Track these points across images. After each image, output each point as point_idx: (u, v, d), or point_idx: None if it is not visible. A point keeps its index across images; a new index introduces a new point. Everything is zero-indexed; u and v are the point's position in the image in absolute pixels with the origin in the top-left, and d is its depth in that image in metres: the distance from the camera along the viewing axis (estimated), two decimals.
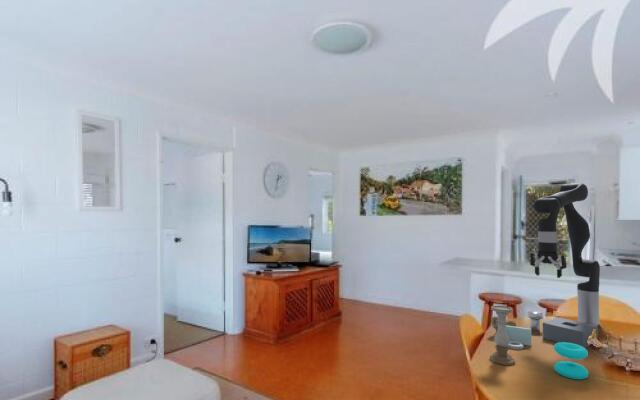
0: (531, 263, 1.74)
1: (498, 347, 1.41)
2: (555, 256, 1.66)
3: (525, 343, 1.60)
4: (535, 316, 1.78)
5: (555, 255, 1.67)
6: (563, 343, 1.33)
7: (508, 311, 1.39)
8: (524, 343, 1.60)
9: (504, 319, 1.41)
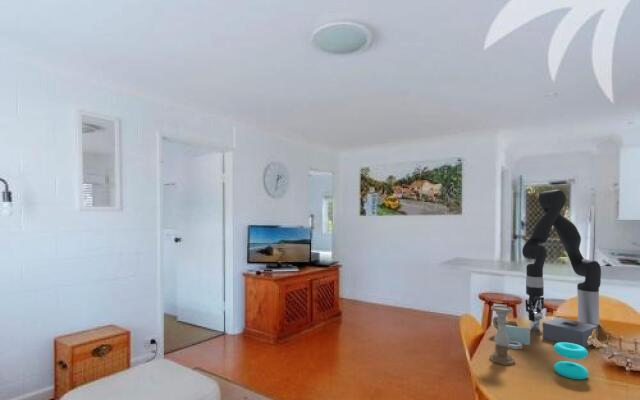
0: (531, 310, 1.77)
1: (498, 347, 1.41)
2: (540, 298, 1.83)
3: (524, 342, 1.60)
4: (535, 316, 1.78)
5: (540, 297, 1.83)
6: (563, 343, 1.33)
7: (508, 311, 1.39)
8: (523, 342, 1.60)
9: (504, 319, 1.41)
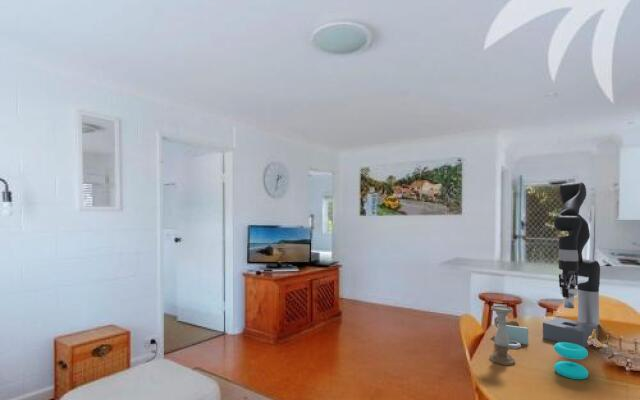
0: (566, 285, 1.64)
1: (498, 347, 1.41)
2: (574, 273, 1.69)
3: (522, 342, 1.61)
4: (569, 292, 1.65)
5: (574, 272, 1.69)
6: (563, 343, 1.33)
7: (508, 311, 1.39)
8: (521, 342, 1.61)
9: (504, 319, 1.41)
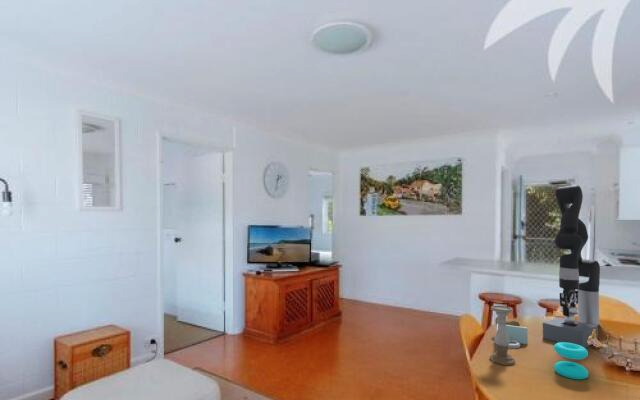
0: (566, 304, 1.63)
1: (498, 347, 1.41)
2: (575, 292, 1.69)
3: (521, 342, 1.61)
4: (570, 310, 1.64)
5: (575, 291, 1.69)
6: (563, 343, 1.33)
7: (508, 311, 1.39)
8: (520, 342, 1.61)
9: (504, 319, 1.41)
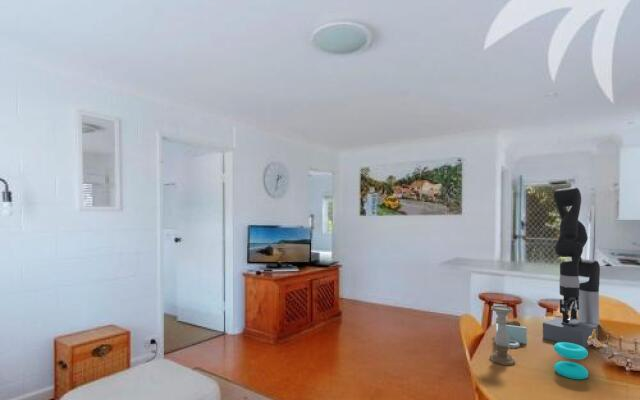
0: (566, 311, 1.62)
1: (498, 347, 1.41)
2: (575, 299, 1.68)
3: (520, 341, 1.62)
4: (571, 322, 1.64)
5: (575, 298, 1.68)
6: (563, 343, 1.33)
7: (508, 311, 1.39)
8: (519, 341, 1.62)
9: (504, 319, 1.41)
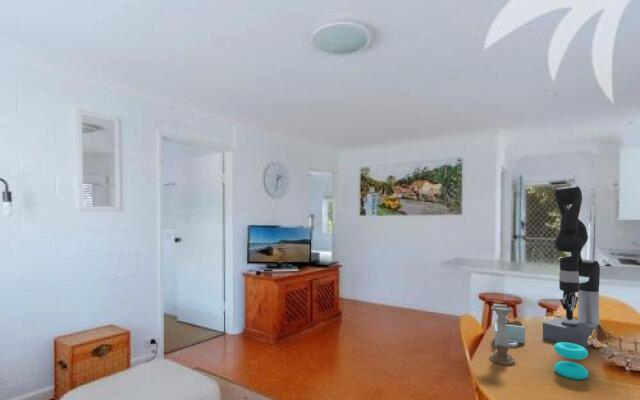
0: (570, 308, 1.65)
1: (498, 347, 1.41)
2: None
3: (519, 341, 1.62)
4: (571, 322, 1.64)
5: (575, 294, 1.69)
6: (563, 343, 1.33)
7: (508, 311, 1.39)
8: (518, 341, 1.62)
9: (504, 319, 1.41)
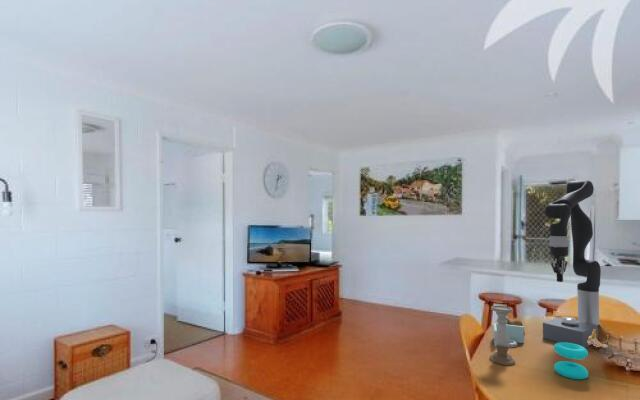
0: (560, 271, 1.74)
1: (498, 347, 1.41)
2: (564, 259, 1.77)
3: (518, 340, 1.63)
4: (571, 322, 1.64)
5: (564, 258, 1.78)
6: (563, 343, 1.33)
7: (508, 311, 1.39)
8: (517, 340, 1.63)
9: (504, 319, 1.41)
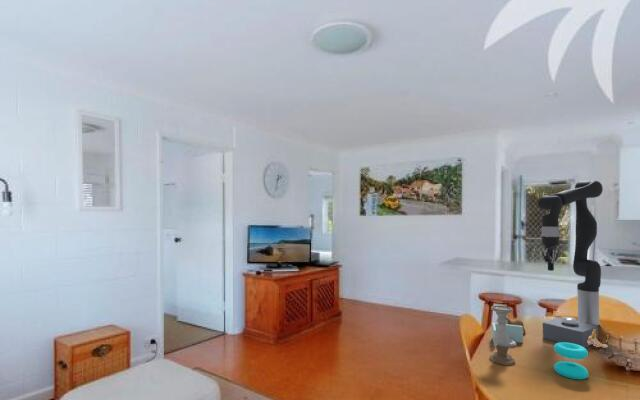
0: (550, 260, 1.81)
1: (498, 347, 1.41)
2: (555, 249, 1.85)
3: (517, 340, 1.63)
4: (571, 322, 1.64)
5: None
6: (563, 343, 1.33)
7: (508, 311, 1.39)
8: (516, 340, 1.63)
9: (504, 319, 1.41)
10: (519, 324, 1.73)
